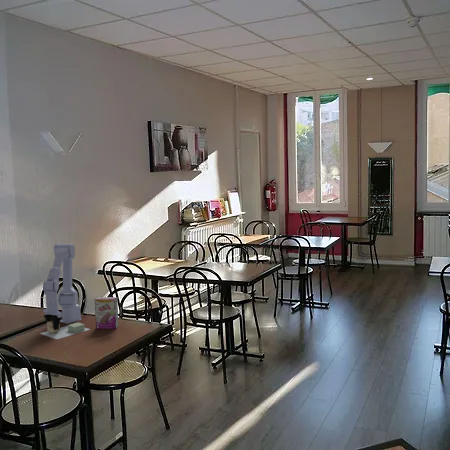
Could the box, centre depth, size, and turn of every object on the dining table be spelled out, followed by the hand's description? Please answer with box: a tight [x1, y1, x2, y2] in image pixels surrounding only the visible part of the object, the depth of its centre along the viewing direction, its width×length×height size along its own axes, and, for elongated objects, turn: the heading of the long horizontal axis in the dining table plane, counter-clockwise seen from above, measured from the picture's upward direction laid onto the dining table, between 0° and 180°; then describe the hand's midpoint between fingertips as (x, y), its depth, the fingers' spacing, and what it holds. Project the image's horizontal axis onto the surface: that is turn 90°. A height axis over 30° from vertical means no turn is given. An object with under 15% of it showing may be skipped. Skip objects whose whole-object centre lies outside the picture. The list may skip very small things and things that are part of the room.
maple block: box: [46, 321, 61, 333], centre depth 273 cm, size 4×4×5 cm
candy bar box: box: [94, 296, 119, 330], centre depth 279 cm, size 11×5×16 cm, turn 84°
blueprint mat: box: [39, 325, 91, 340], centre depth 274 cm, size 20×16×1 cm
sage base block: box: [67, 322, 86, 333], centre depth 275 cm, size 6×6×3 cm
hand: (53, 328), depth 273 cm, fingers closed on maple block, 4 cm apart
